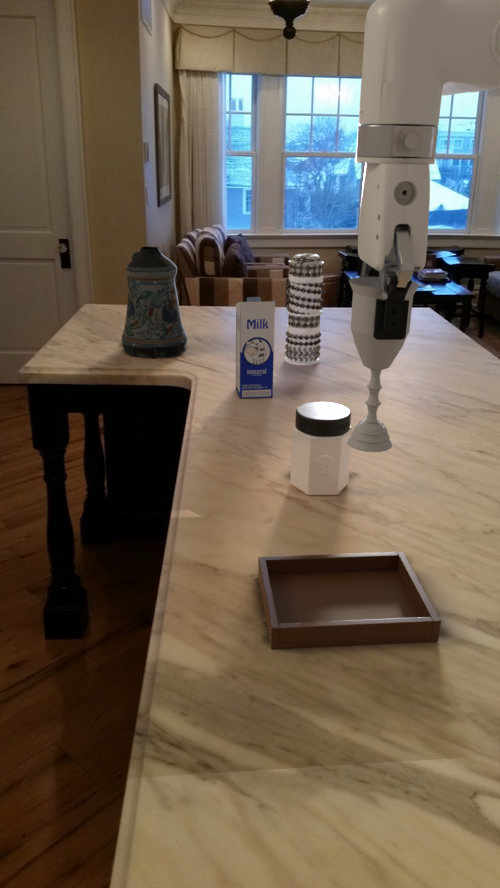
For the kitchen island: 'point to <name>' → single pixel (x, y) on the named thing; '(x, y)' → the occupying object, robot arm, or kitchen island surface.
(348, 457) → the jar
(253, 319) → the milk carton
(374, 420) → the chalice
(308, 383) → the kitchen island surface
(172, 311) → the beer stein
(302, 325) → the decorative candle
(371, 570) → the tray
